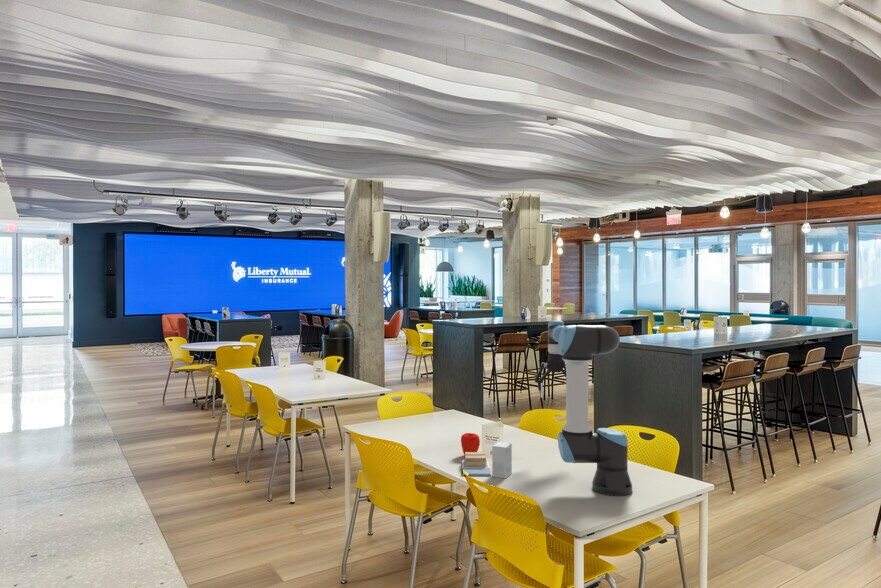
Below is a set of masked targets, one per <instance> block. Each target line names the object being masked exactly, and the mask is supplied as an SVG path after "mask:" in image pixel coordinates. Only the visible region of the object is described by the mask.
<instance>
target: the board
mask: <svg viewBox="0 0 881 588" xmlns="http://www.w3.org/2000/svg"><path fill="white" fill-rule="evenodd" d="M462 469H463V470H464V471H465V472H467V473H468V474H469V475H471V476H470V477H491V468H490V463H489V460H488V459H486V467H465V459H461V470H462Z"/></svg>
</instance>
